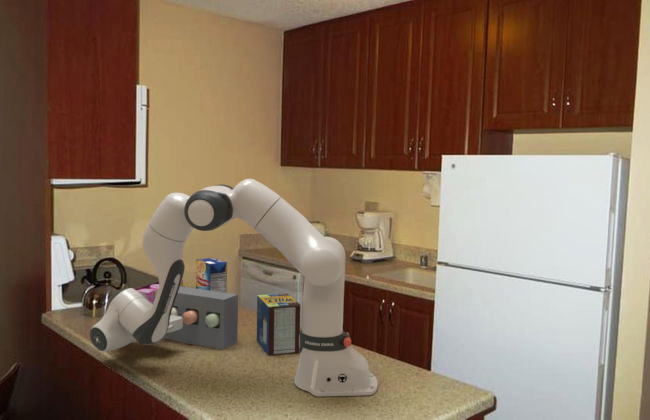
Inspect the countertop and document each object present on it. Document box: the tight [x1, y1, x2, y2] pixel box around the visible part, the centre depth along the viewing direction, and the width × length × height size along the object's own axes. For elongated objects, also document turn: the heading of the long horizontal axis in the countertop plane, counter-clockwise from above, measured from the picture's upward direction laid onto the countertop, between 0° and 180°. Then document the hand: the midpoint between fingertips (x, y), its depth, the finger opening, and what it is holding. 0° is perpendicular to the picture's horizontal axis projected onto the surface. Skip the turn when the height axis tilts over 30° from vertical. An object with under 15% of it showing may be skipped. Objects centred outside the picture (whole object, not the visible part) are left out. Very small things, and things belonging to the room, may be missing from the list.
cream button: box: [171, 306, 178, 316], centre depth 185 cm, size 4×4×4 cm
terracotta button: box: [182, 309, 199, 325], centre depth 180 cm, size 4×4×4 cm
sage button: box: [205, 313, 220, 327], centre depth 178 cm, size 4×4×4 cm
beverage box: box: [195, 257, 228, 293], centre depth 209 cm, size 7×11×22 cm, turn 40°
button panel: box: [162, 286, 239, 351], centre depth 185 cm, size 24×8×16 cm, turn 66°
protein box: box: [256, 292, 302, 356], centre depth 181 cm, size 10×15×16 cm
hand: (168, 314), depth 182 cm, fingers closed
